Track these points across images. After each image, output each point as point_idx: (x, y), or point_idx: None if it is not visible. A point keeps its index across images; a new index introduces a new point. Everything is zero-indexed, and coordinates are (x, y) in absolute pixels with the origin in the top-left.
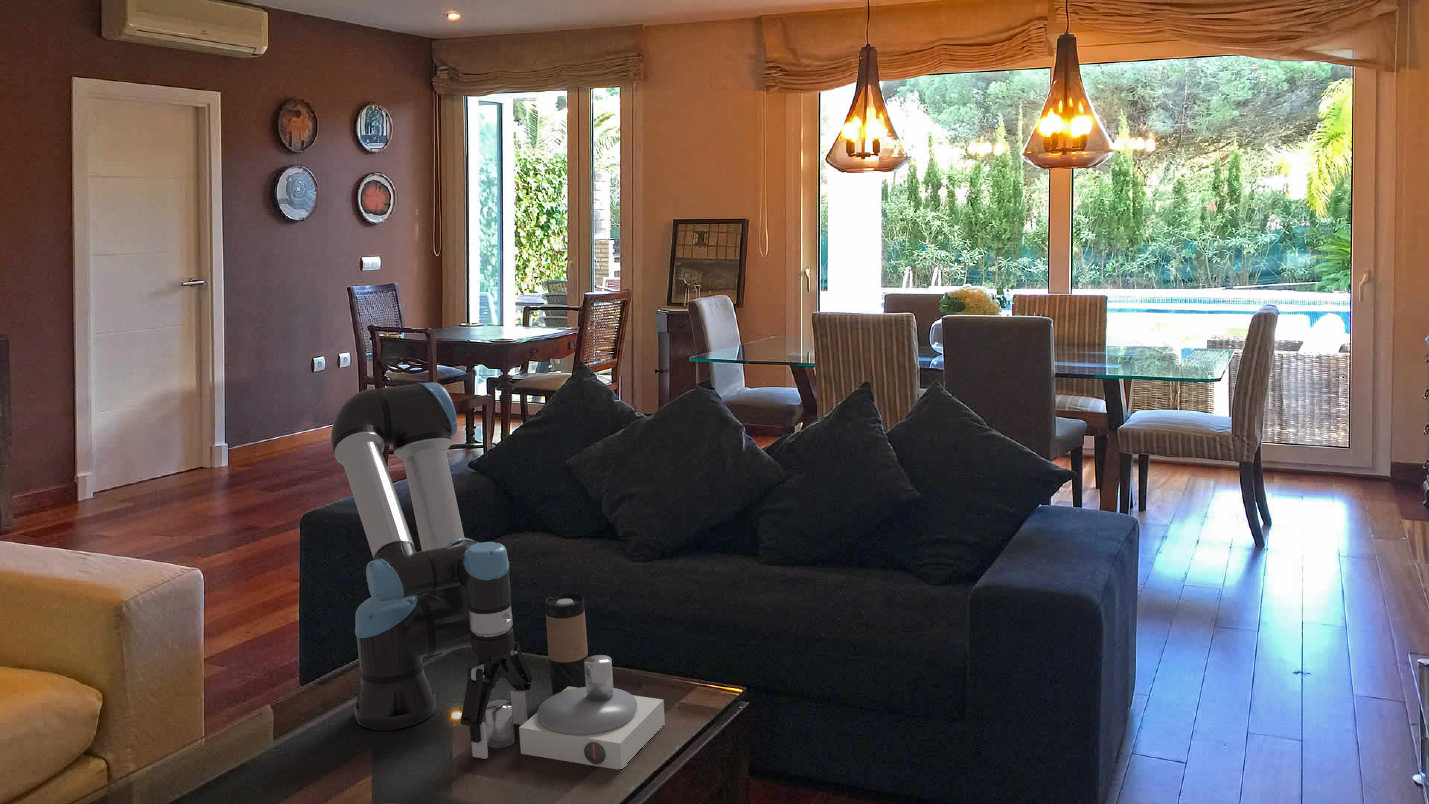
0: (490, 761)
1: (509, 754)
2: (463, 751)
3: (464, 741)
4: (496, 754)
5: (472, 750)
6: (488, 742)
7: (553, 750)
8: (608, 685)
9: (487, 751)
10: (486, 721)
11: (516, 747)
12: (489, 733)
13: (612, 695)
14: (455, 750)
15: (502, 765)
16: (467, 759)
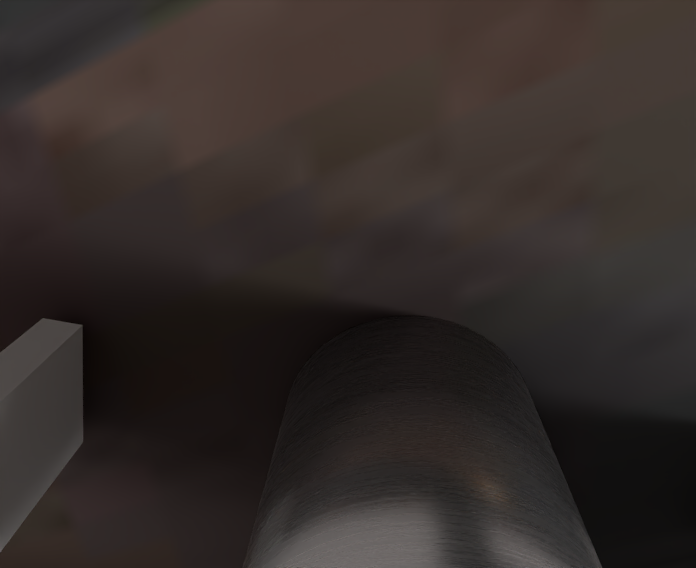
0: None
1: (207, 546)
2: (156, 161)
3: (369, 74)
4: (182, 462)
5: (5, 351)
6: (303, 377)
7: None
8: None
9: (55, 475)
10: (274, 541)
11: None
12: (274, 464)
13: None
14: (154, 62)
15: (39, 549)
16: (27, 265)
